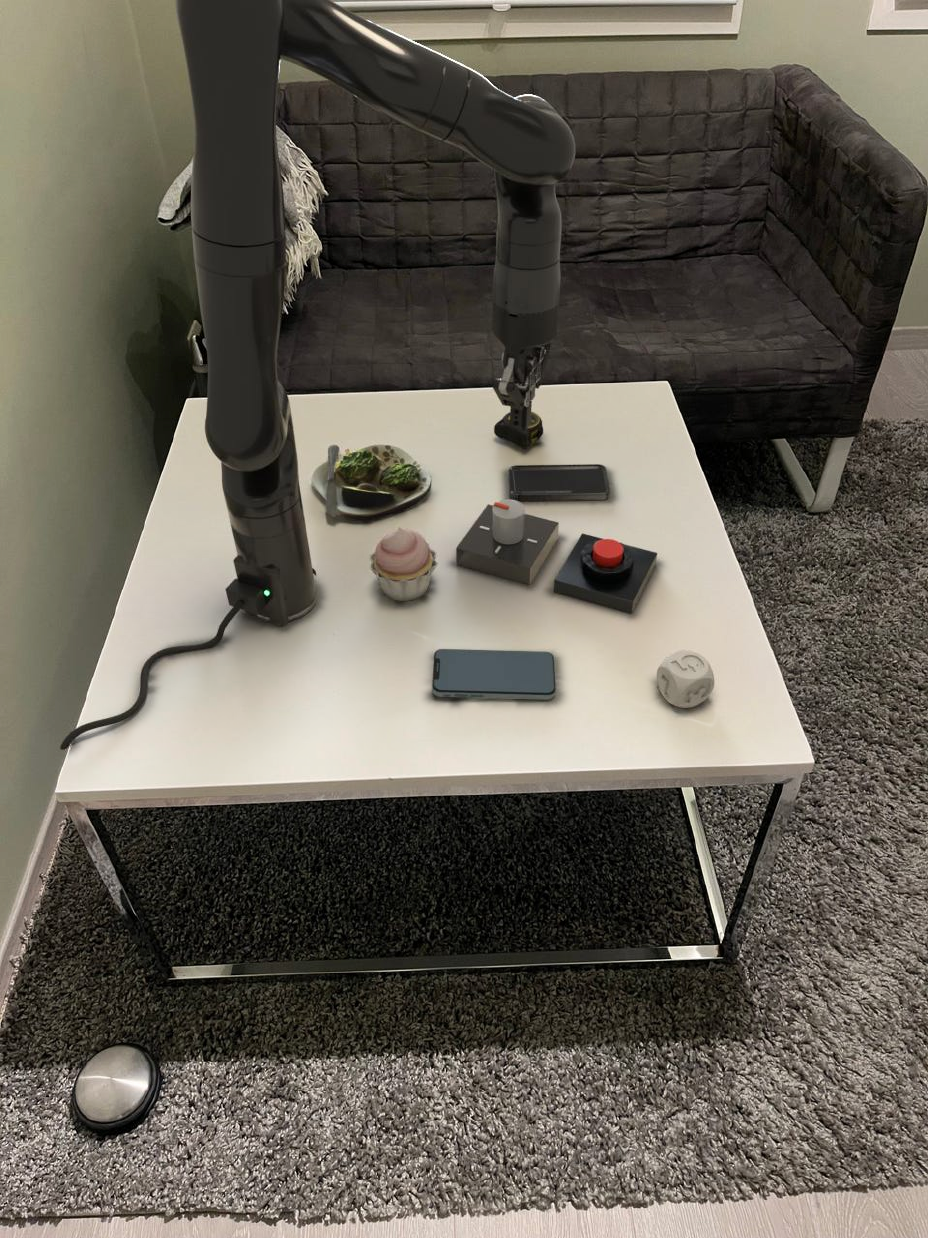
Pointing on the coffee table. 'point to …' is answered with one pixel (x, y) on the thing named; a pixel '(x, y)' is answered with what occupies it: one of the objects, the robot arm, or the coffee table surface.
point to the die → (685, 678)
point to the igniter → (605, 576)
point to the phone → (558, 482)
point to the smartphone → (493, 674)
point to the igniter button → (607, 553)
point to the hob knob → (508, 521)
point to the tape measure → (519, 437)
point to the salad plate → (370, 482)
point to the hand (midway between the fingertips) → (519, 427)
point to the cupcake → (403, 564)
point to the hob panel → (507, 548)
